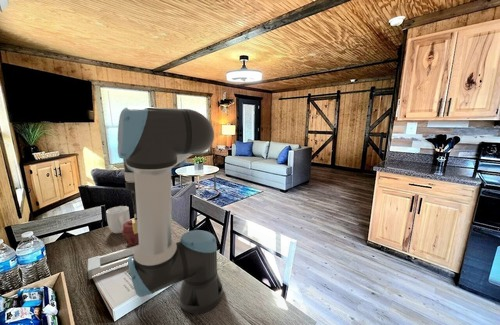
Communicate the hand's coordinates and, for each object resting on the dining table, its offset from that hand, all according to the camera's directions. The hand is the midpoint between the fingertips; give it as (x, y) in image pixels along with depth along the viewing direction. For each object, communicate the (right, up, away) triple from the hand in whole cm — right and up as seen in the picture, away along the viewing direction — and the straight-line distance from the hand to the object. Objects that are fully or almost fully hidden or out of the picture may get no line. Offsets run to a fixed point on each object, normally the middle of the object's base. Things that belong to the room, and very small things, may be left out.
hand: (139, 229), depth 96 cm
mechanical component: (-9, -11, +12) cm, 19 cm away
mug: (-24, -9, +24) cm, 35 cm away
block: (0, 0, 0) cm, 0 cm away
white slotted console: (-7, -14, -4) cm, 16 cm away
